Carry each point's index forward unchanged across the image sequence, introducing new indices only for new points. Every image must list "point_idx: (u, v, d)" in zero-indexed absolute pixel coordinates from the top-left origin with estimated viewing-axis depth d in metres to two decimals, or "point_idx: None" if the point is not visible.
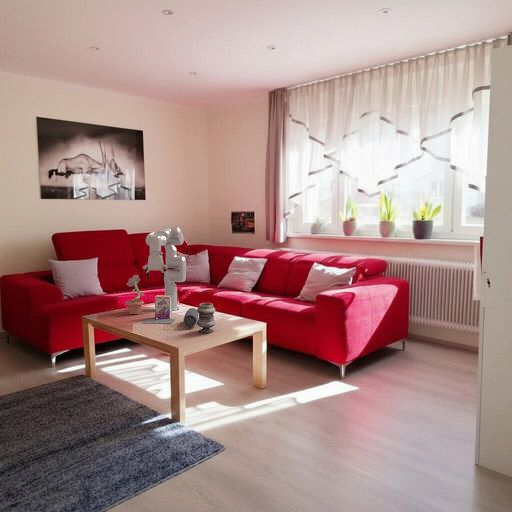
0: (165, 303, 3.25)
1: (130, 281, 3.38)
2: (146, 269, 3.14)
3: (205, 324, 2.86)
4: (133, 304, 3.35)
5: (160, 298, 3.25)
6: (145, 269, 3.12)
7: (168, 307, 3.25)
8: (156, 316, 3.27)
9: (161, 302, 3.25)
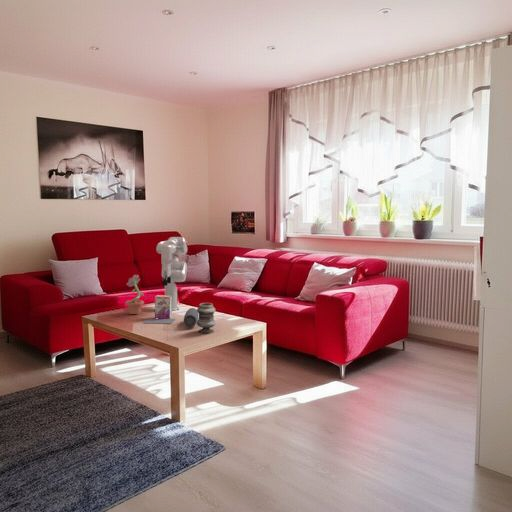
0: (165, 303, 3.25)
1: (130, 281, 3.38)
2: None
3: (205, 324, 2.86)
4: (133, 304, 3.35)
5: (160, 298, 3.25)
6: (165, 277, 3.31)
7: (168, 307, 3.25)
8: (156, 316, 3.27)
9: (161, 302, 3.25)
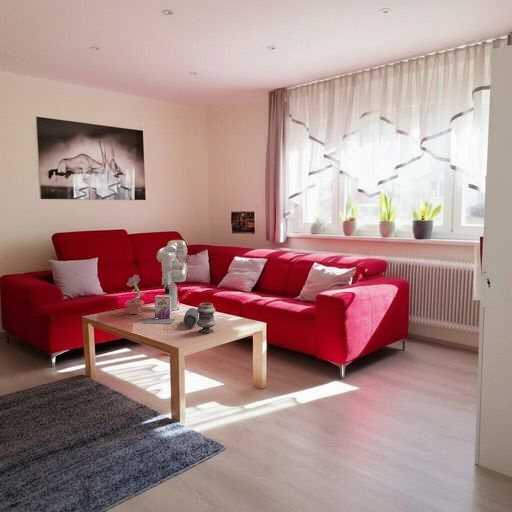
0: (165, 303, 3.25)
1: (130, 281, 3.38)
2: None
3: (205, 324, 2.86)
4: (133, 304, 3.35)
5: (160, 298, 3.25)
6: (167, 286, 3.36)
7: (168, 307, 3.25)
8: (156, 316, 3.27)
9: (161, 302, 3.25)
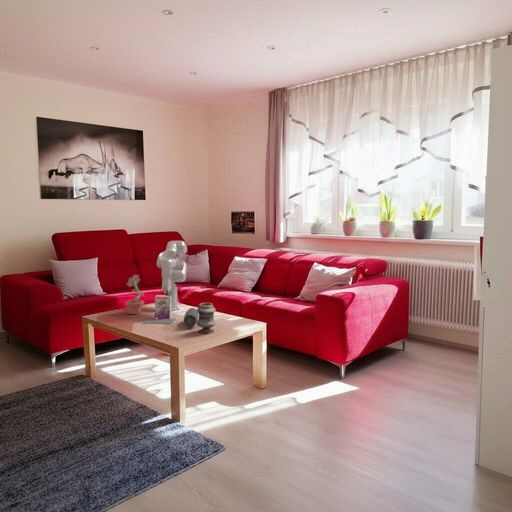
0: (165, 303, 3.25)
1: (130, 281, 3.38)
2: None
3: (205, 324, 2.86)
4: (133, 304, 3.35)
5: (160, 298, 3.25)
6: (167, 292, 3.36)
7: (168, 307, 3.25)
8: (156, 316, 3.27)
9: (161, 302, 3.25)
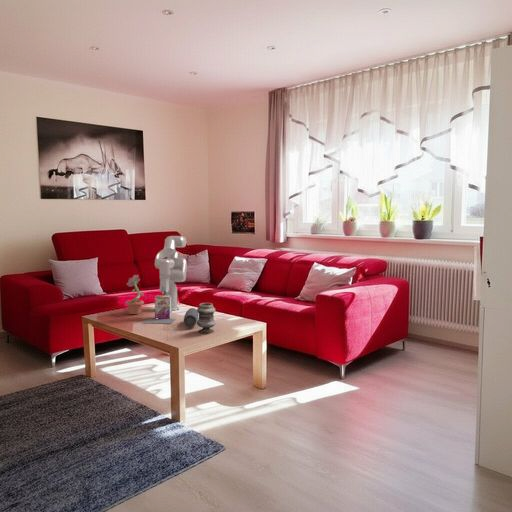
0: (165, 303, 3.25)
1: (130, 281, 3.38)
2: None
3: (205, 324, 2.86)
4: (133, 304, 3.35)
5: (160, 298, 3.25)
6: (165, 293, 3.30)
7: (168, 307, 3.25)
8: (156, 316, 3.27)
9: (161, 302, 3.25)
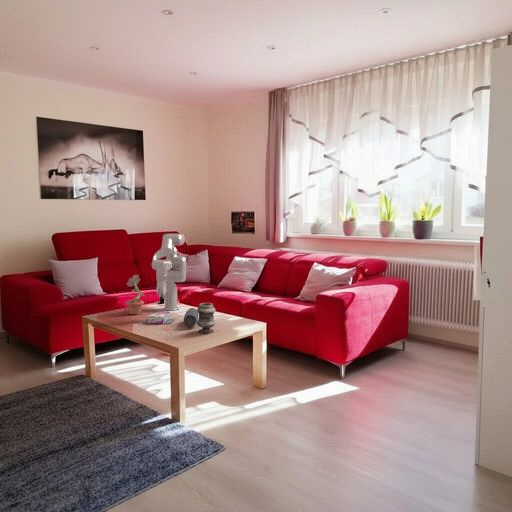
0: None
1: (130, 281, 3.38)
2: None
3: (205, 324, 2.86)
4: (133, 304, 3.35)
5: None
6: (162, 295, 3.21)
7: None
8: None
9: None
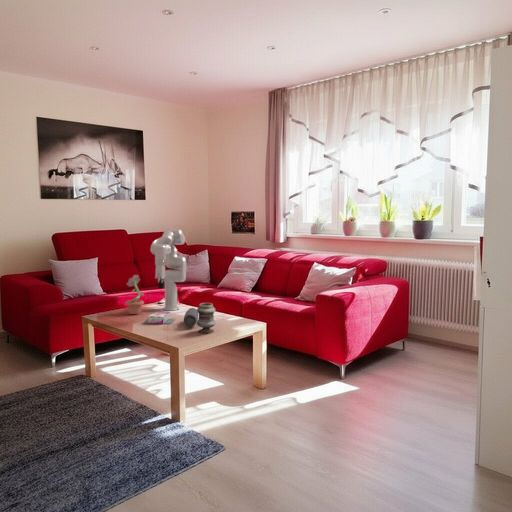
0: None
1: (130, 281, 3.38)
2: None
3: (205, 324, 2.86)
4: (133, 304, 3.35)
5: None
6: (161, 280, 3.18)
7: None
8: None
9: None
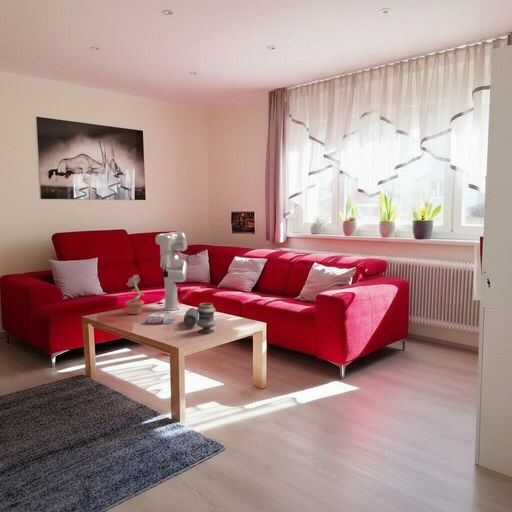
0: None
1: (130, 281, 3.38)
2: None
3: (205, 324, 2.86)
4: (133, 304, 3.35)
5: None
6: (166, 269, 3.31)
7: None
8: None
9: None
